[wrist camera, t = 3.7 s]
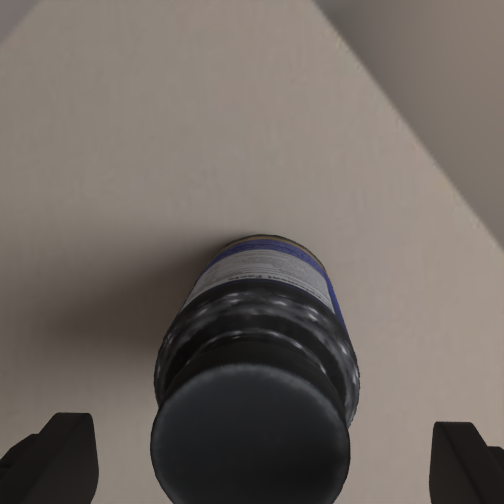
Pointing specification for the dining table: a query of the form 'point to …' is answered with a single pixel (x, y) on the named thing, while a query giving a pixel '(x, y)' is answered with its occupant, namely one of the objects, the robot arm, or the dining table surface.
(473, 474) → the robot arm
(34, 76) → the dining table surface
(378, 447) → the dining table surface
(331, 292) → the pill bottle
